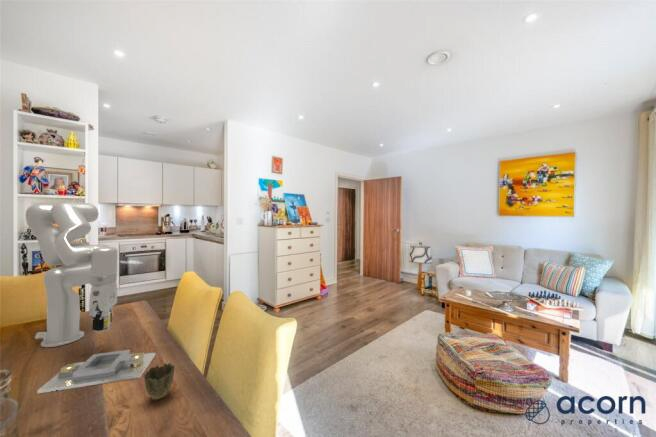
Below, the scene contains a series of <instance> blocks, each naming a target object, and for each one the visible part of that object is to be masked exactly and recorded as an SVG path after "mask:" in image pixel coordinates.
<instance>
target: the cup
mask: <svg viewBox="0 0 656 437" xmlns="http://www.w3.org/2000/svg"><path fill="white" fill-rule="evenodd" d="M145 372H146V373H143V375H144V376H143V377H144V384H145V390H146V393H147V394H148V395H149V396H150V397H151V399H152V400H153V401H159V400H162V399H164V398H165V397H166V396H167V394H168V391H169V390H170V388H171V386H172V385H173V380H174V374H175V365H174V364H172V363H171V362H170V363H168V364H167V363H166V362H165V363H164V364H163V365H161V366H159V365H158V364H156V366H155V367H154V366H151V367H150V369H149V370H145Z"/></svg>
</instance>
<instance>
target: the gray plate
mask: <svg viewBox="0 0 656 437" xmlns="http://www.w3.org/2000/svg"><path fill="white" fill-rule="evenodd" d="M155 356H156V352H148V353H145V352H144V351H143V352H136V353H131V349H126V350H125V349H124V350H117V351H110V352H101V353H94V354H92V355H91V356H90V357H89V358H88V359H87V360H85V361H82V362H81V361H80V362H73V363H68V364H65V365H63V366H62V367H60V371H59V372H58V373H57V374H55V375H54V376H53V377H52V378H50V380H48V381H46V383H45V384H43V385H42V386H41V387H40V388H38V389H37V393H36V394H37V395H38V394H46V393H50V392H51V391H52V392H57V391H56V390H58V391H64V390H69V389H70V390H71V389H77V388H83V387H89V386H96V385H101V384H107V383H114V382H121V381H126V380H128V381H129V380H132V379H133V380H134V379H140V378H142V376H143V375H144V374H145V372H146V371H147V370H146V369H147V368H148V367H149V366H150V364H151V363H152V361H153V359H154V358H155Z"/></svg>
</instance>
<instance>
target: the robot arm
mask: <svg viewBox="0 0 656 437" xmlns="http://www.w3.org/2000/svg"><path fill="white" fill-rule="evenodd" d="M98 217H99V210H98V208H97V207H96V206H95V205H94V204H93V203H89V202H69V201H68V202H67V201H66V202H65V201H64V202H58V203H38V204H33V205H30V206H28V208H27V209H26V210H25V221H26V224H27V227H28V228H29V229H30V231H31V232H32V234H33V235H34V236H35V238H36V240H37V244H38V247H39V250H40V254H41V257H42V260H43V261H44V263H45V264H46V265H48V266H52V268H50V269H48V270H47V271H46V272H45V273H44V274H43V284H44V288H45V292H46V331H40V332H39V331H38V332H36V334H35V336H34V339H35V340H38V339H39V340H40V339H42V340H41V342H40V346H41V347H43V348H54V347H60V346H61V347H62V346H65V345H68V344H71V343H74V342H76V341H79V340H80V339H82V338H83V337H84V336H85V331H83V330H80V312H81V311H80V309H81V308H80V307H81V306H80V302H81V301H80V294H79V293H78V292H76V291H75V290H74V289H73V288H74V287H79V286H80V287H81V286H83V285H84V286H85V285H90V286H91V287H90V293H89V300H88V301H89V303H88V307H89V310H88V311H89V316H90V317H91V320H92V327H91V328H92V331H94V330H102V329H103V328H104V318H103V313H104V311H107V310H108V309H110V310H109V311H110V312H111V323H112V319H113V318H112V317H113V315H112V314H113V307H114V306H115V305H116V304H118V286H117V278H118V277H117V274H118V248H116V247H114V246H109V245H107V244H101V243H100V244H90V243H89V242H85V241H76V240H79V239H82V238H84V237H85V236H87V235H88V234H89V233H90V232H91V229H92V226H91V224H90V223H92V222H95V221H97V219H98ZM54 224H57V226H55V225H54ZM73 241H74V242H73ZM75 241H76V242H75ZM53 266H56V267H53ZM97 309H100V311H97ZM97 313H100V315H99V314H97Z"/></svg>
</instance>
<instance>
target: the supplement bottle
mask: <svg viewBox="0 0 656 437" xmlns="http://www.w3.org/2000/svg"><path fill="white" fill-rule="evenodd" d="M109 310H110V309H108V310H107V311H104V313H103V318H104V328H103V329H102V330H93V331H94V332H96V333H102V332H105V331H108V330H109V329H110V328H111V326H112V324H111V323H112V322H111V313H112V312H110V311H109ZM97 311H100V309H97ZM97 314H99V315H100V313H97Z"/></svg>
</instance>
